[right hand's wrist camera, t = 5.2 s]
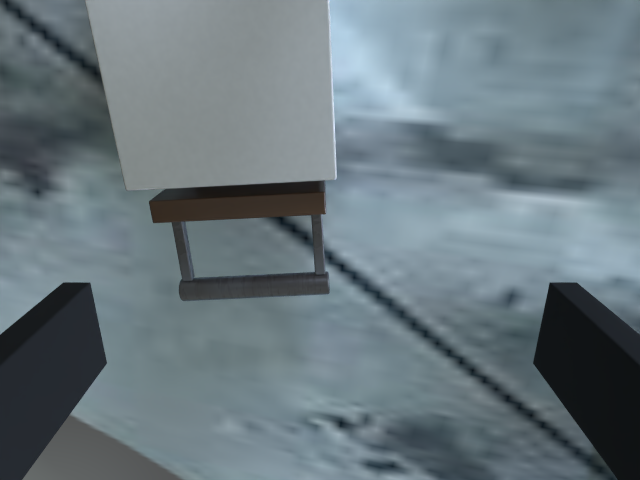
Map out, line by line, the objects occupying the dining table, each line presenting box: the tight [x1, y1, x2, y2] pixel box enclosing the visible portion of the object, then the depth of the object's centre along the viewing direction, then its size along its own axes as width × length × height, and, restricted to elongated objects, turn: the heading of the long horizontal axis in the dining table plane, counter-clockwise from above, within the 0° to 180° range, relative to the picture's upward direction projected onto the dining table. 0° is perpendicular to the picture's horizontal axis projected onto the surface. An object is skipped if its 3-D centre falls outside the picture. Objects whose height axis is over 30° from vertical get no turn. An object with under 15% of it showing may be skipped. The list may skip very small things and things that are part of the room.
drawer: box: [149, 180, 330, 301], centre depth 24 cm, size 25×9×7 cm, turn 3°
